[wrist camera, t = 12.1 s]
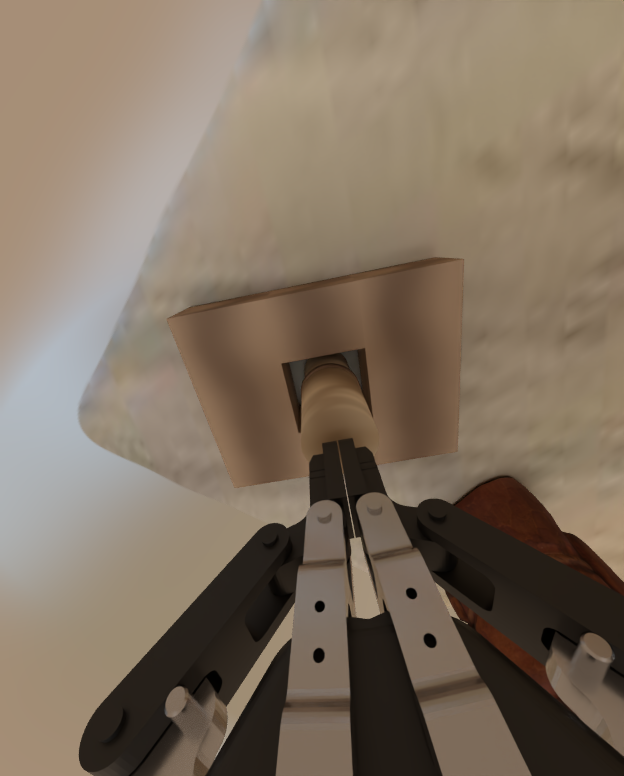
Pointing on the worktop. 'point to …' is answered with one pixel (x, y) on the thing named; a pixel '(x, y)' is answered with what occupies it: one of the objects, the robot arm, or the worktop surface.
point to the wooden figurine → (539, 530)
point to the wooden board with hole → (324, 337)
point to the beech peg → (334, 407)
